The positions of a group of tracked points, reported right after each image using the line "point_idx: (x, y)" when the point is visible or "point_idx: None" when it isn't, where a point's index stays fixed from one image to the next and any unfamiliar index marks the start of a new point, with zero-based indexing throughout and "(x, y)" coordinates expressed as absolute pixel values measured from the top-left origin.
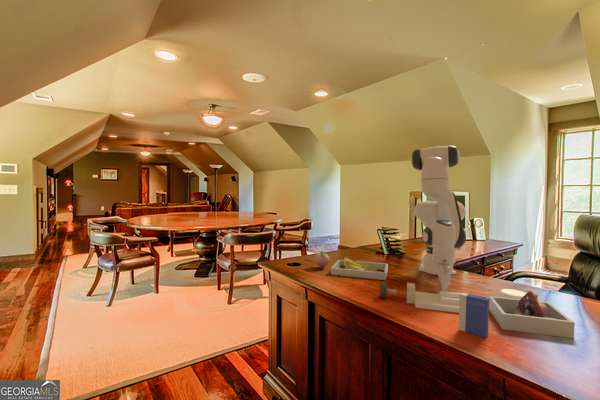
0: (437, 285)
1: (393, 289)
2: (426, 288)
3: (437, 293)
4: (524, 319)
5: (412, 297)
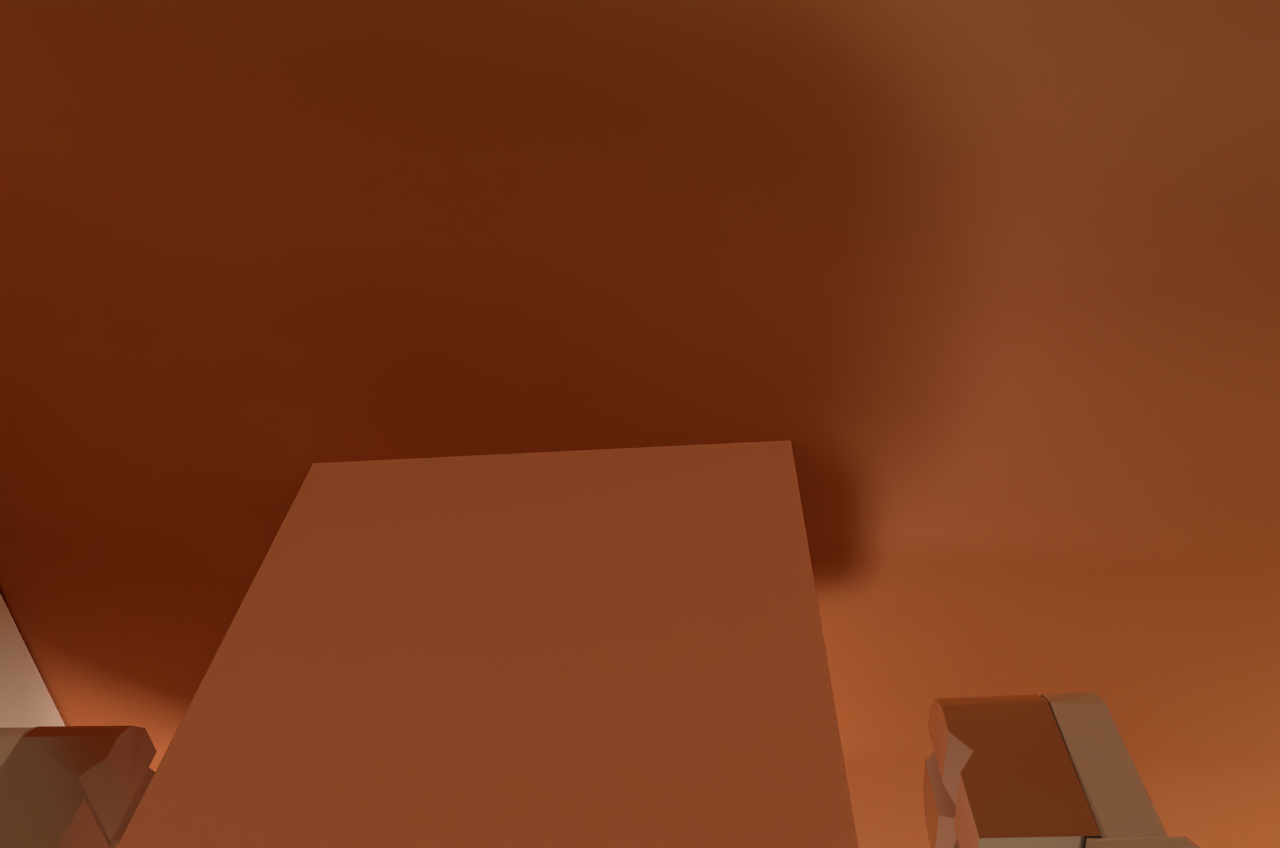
0: (356, 749)
1: None
2: (1241, 12)
3: (351, 499)
4: None
5: None
